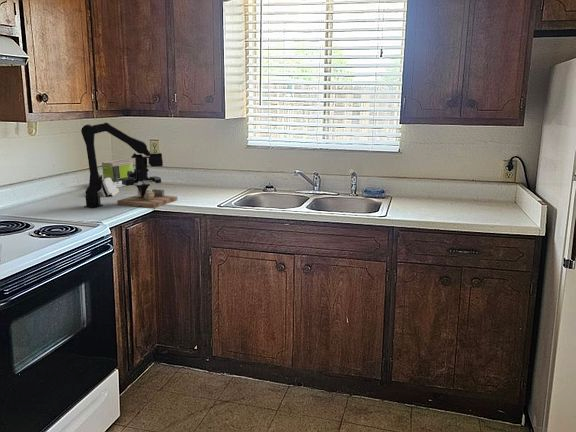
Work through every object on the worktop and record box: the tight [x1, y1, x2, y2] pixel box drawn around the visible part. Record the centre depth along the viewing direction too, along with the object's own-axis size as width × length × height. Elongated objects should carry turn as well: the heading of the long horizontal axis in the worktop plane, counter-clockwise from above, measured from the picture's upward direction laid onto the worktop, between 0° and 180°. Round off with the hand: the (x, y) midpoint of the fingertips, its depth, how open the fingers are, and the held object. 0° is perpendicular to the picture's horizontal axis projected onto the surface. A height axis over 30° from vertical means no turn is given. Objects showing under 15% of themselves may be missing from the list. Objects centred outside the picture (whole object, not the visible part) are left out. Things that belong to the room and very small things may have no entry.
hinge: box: [100, 178, 120, 198], centre depth 296 cm, size 17×5×10 cm, turn 6°
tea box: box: [101, 158, 135, 188], centre depth 320 cm, size 15×10×15 cm, turn 145°
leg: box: [137, 189, 154, 200], centre depth 274 cm, size 13×3×4 cm, turn 39°
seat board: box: [116, 188, 178, 209], centre depth 273 cm, size 20×22×6 cm
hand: (142, 197), depth 270 cm, fingers closed
